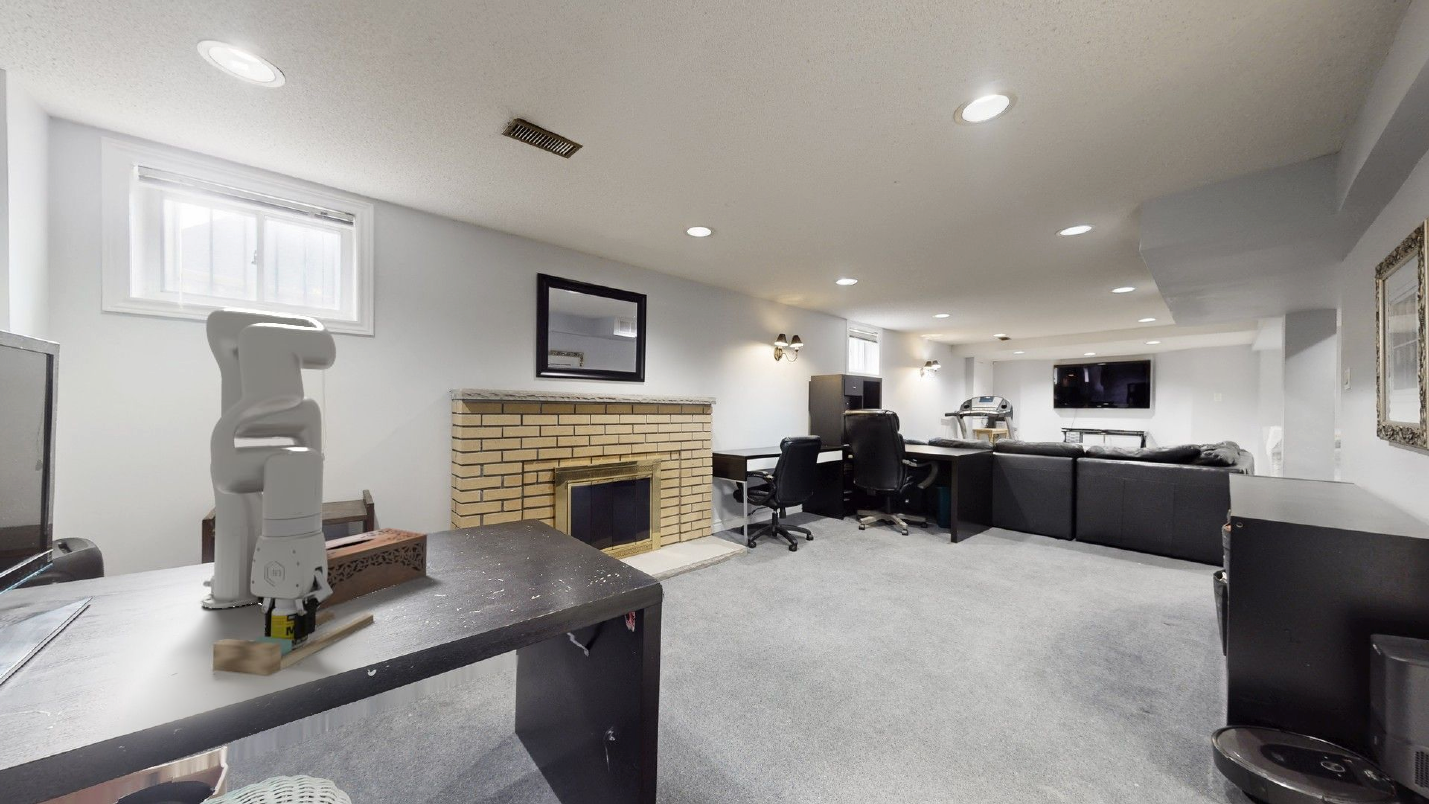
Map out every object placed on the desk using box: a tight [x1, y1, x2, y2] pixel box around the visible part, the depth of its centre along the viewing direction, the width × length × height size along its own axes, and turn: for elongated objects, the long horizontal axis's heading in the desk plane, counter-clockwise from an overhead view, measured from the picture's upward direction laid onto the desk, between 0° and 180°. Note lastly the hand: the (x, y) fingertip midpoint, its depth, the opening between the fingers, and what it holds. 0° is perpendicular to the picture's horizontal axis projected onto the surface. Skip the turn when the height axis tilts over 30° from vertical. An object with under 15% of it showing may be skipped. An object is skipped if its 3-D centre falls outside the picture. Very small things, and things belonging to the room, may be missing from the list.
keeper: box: [252, 636, 293, 656], centre depth 76 cm, size 6×3×3 cm, turn 82°
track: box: [212, 610, 374, 677], centre depth 82 cm, size 10×19×4 cm, turn 172°
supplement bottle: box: [271, 597, 309, 650], centre depth 80 cm, size 5×5×8 cm
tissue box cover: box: [256, 527, 428, 613], centre depth 106 cm, size 26×14×10 cm, turn 156°
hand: (290, 633), depth 80 cm, fingers closed on supplement bottle, 4 cm apart
